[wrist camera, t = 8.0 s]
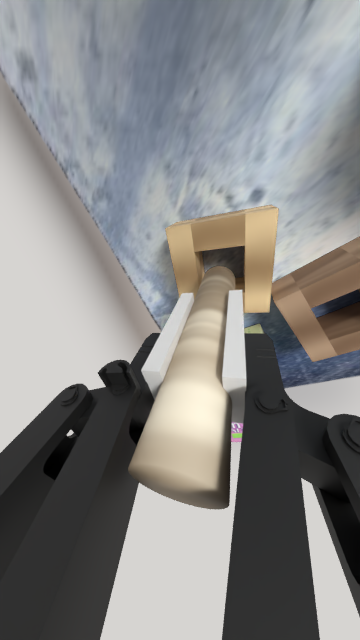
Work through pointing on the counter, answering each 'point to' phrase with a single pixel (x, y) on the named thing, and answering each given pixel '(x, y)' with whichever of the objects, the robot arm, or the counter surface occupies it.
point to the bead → (224, 232)
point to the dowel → (192, 409)
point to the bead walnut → (317, 288)
